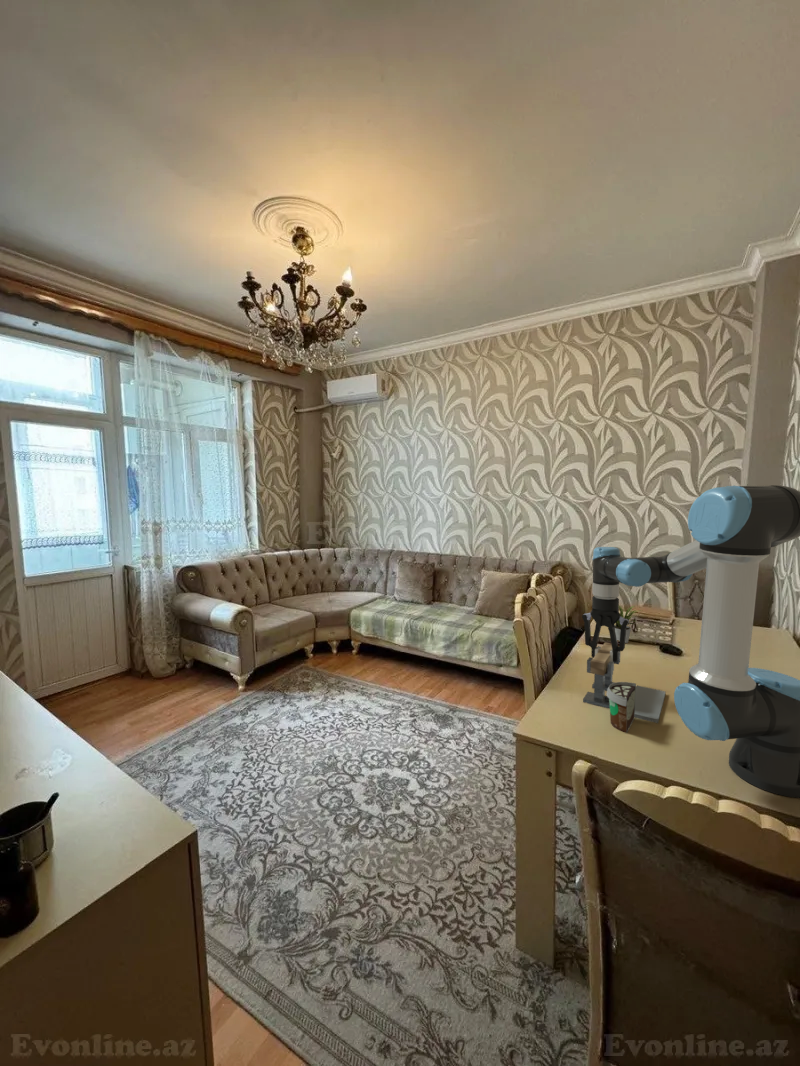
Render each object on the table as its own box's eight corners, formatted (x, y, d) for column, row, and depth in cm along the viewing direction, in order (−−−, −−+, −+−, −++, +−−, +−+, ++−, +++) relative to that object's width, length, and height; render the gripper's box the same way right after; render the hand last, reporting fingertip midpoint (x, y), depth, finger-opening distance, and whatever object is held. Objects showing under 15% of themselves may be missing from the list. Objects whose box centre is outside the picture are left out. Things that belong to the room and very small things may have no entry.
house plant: (644, 639, 188) (645, 602, 187) (642, 649, 177) (643, 609, 175) (608, 634, 196) (609, 598, 195) (604, 643, 184) (605, 605, 183)
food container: (612, 710, 128) (612, 677, 127) (635, 716, 124) (636, 682, 123) (600, 728, 118) (601, 692, 117) (625, 735, 114) (626, 699, 113)
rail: (616, 655, 144) (617, 644, 144) (603, 675, 128) (604, 663, 128) (604, 652, 146) (604, 642, 146) (590, 672, 130) (590, 660, 130)
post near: (615, 701, 133) (616, 660, 132) (611, 709, 128) (612, 667, 127) (587, 694, 138) (588, 655, 137) (583, 701, 133) (583, 661, 132)
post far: (622, 687, 143) (623, 649, 142) (619, 693, 138) (620, 654, 137) (596, 681, 148) (597, 644, 147) (592, 687, 143) (592, 649, 142)
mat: (657, 723, 120) (658, 719, 120) (625, 715, 125) (625, 711, 125) (665, 694, 137) (665, 691, 137) (636, 688, 142) (636, 685, 142)
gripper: (637, 597, 133) (635, 671, 135) (580, 591, 143) (579, 660, 145) (633, 602, 127) (631, 679, 129) (574, 595, 137) (573, 667, 139)
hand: (604, 669), depth 137 cm, fingers closed on rail, 4 cm apart
